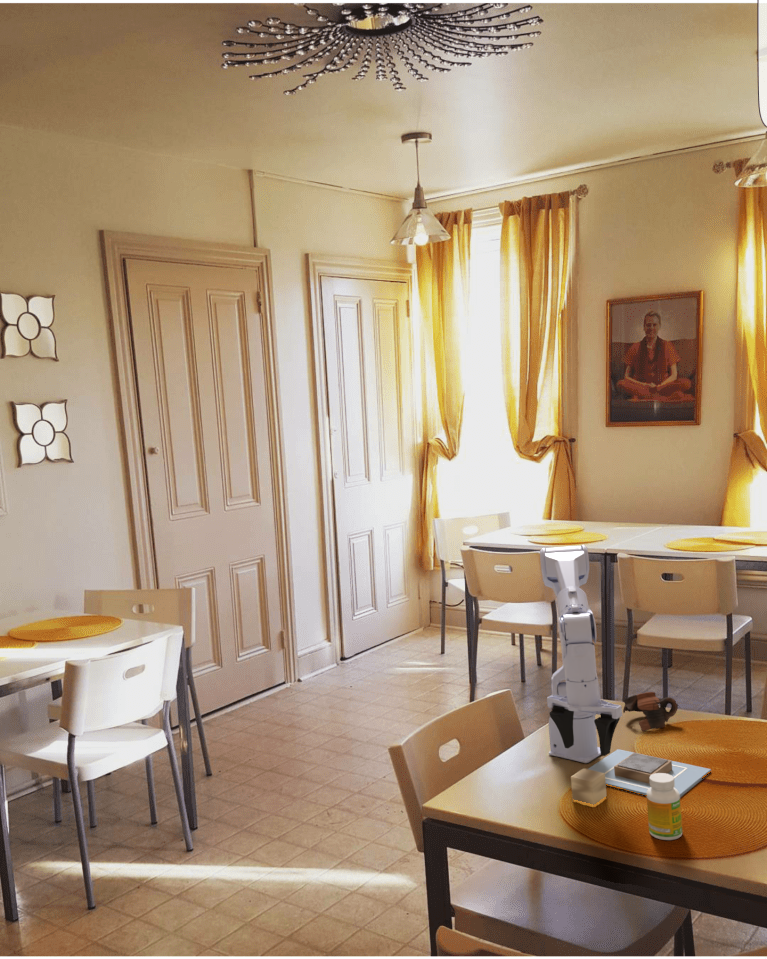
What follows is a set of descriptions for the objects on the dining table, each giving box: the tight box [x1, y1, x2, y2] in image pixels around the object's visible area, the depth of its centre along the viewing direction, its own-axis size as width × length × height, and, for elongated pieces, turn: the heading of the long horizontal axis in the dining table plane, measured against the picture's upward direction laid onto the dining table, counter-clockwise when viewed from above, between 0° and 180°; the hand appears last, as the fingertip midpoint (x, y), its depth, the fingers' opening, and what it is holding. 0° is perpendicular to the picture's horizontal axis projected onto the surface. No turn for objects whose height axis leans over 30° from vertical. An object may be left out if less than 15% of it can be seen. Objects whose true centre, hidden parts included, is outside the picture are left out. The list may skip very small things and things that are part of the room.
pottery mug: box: [622, 691, 679, 732], centre depth 197 cm, size 12×10×8 cm
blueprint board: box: [587, 748, 712, 798], centre depth 170 cm, size 20×16×3 cm
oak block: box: [570, 767, 608, 805], centre depth 161 cm, size 4×4×5 cm
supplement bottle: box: [646, 773, 683, 841], centre depth 146 cm, size 5×5×10 cm
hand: (587, 750), depth 161 cm, fingers open, 7 cm apart
